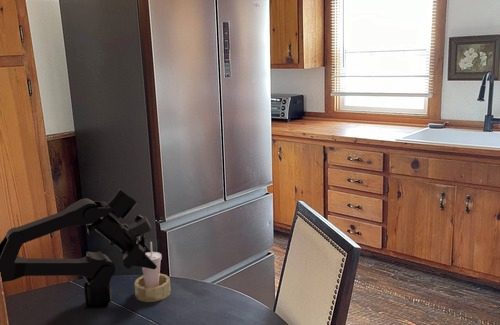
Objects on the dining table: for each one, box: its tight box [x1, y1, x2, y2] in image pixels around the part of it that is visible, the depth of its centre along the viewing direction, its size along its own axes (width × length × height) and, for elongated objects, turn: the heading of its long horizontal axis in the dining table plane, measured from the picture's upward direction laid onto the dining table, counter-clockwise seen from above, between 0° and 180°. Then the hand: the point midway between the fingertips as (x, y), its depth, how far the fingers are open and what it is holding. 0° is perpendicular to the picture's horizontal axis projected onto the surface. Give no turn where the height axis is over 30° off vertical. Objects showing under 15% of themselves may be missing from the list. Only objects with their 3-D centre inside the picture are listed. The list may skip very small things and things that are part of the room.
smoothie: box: [141, 241, 163, 288], centre depth 137 cm, size 6×6×14 cm
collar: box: [134, 273, 171, 303], centre depth 139 cm, size 10×10×4 cm
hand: (155, 263), depth 138 cm, fingers closed on smoothie, 6 cm apart
